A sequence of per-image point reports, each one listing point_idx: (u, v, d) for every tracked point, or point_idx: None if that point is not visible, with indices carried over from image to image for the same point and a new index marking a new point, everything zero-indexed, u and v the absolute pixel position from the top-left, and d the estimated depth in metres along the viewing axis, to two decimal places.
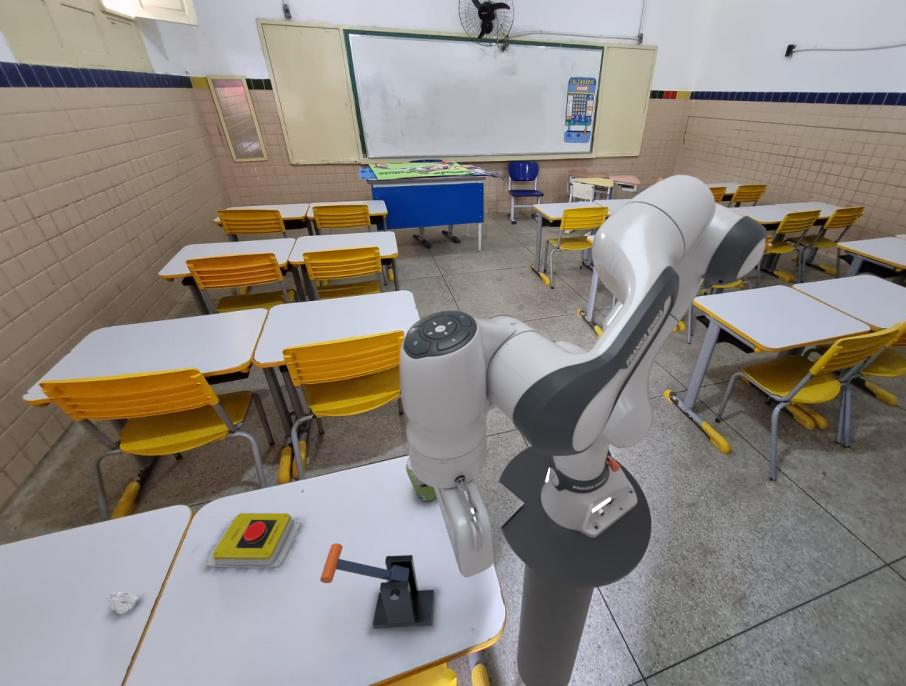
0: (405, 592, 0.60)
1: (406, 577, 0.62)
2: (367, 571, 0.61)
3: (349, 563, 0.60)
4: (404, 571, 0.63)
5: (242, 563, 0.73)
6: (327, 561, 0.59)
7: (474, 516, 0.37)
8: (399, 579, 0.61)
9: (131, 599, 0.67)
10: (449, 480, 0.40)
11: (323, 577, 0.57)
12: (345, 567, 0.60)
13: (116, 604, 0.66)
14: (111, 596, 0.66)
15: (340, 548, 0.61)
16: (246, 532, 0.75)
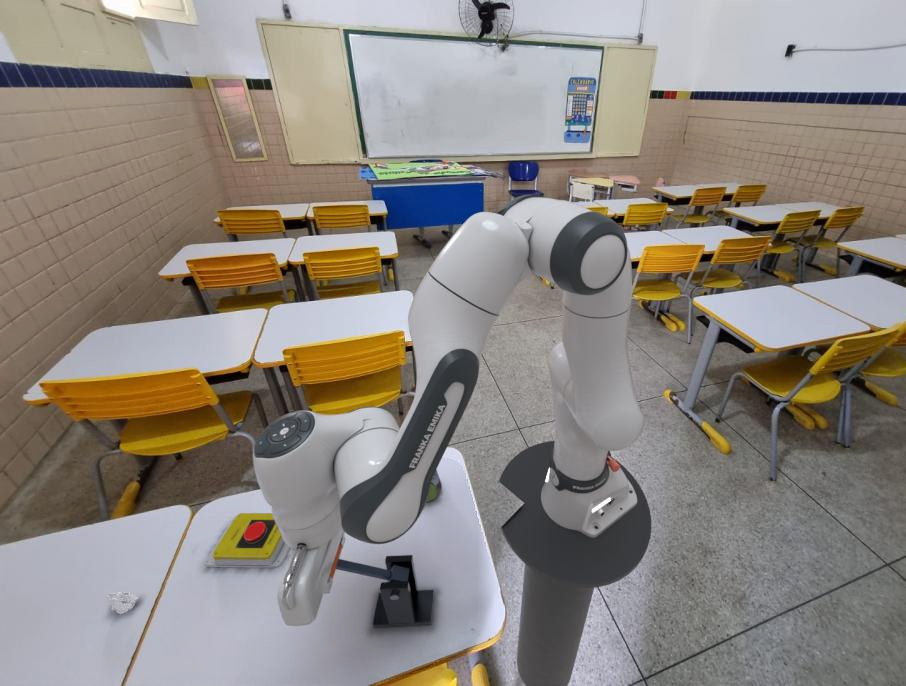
0: (405, 592, 0.60)
1: (406, 577, 0.62)
2: (367, 571, 0.61)
3: (349, 563, 0.60)
4: (404, 571, 0.63)
5: (242, 563, 0.73)
6: None
7: (286, 583, 0.46)
8: (399, 579, 0.61)
9: (131, 599, 0.67)
10: (293, 543, 0.50)
11: None
12: (345, 567, 0.60)
13: (116, 604, 0.66)
14: (111, 596, 0.66)
15: (340, 548, 0.61)
16: (246, 532, 0.75)
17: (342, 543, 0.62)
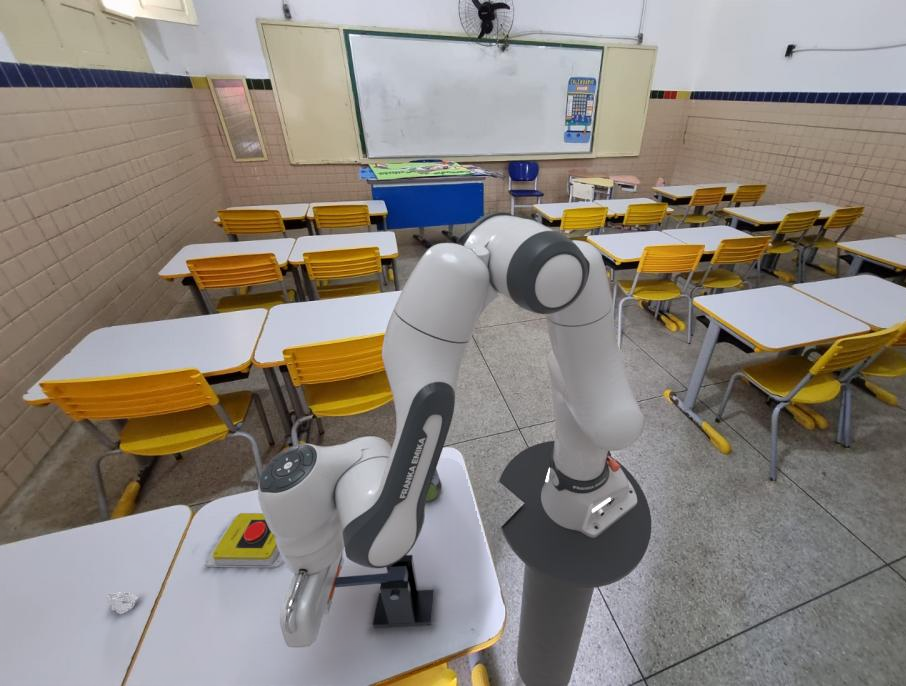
0: (405, 592, 0.60)
1: (402, 575, 0.62)
2: (364, 580, 0.62)
3: (346, 578, 0.62)
4: (400, 570, 0.62)
5: (242, 563, 0.73)
6: None
7: (288, 608, 0.49)
8: (395, 579, 0.61)
9: (132, 599, 0.67)
10: (295, 569, 0.53)
11: None
12: (342, 583, 0.62)
13: (116, 604, 0.66)
14: (111, 596, 0.66)
15: None
16: (246, 532, 0.75)
17: (341, 564, 0.65)
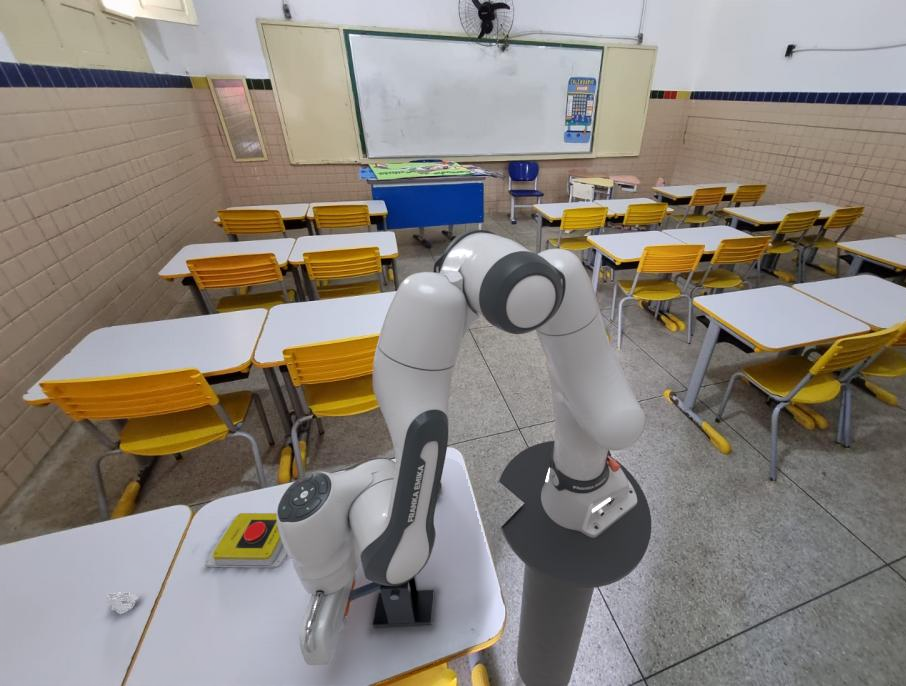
0: (405, 592, 0.60)
1: None
2: (370, 588, 0.63)
3: (356, 590, 0.64)
4: None
5: (242, 563, 0.73)
6: None
7: (307, 629, 0.51)
8: None
9: (132, 599, 0.67)
10: (312, 590, 0.55)
11: None
12: (353, 595, 0.64)
13: (116, 604, 0.66)
14: (111, 596, 0.66)
15: None
16: (246, 532, 0.75)
17: None
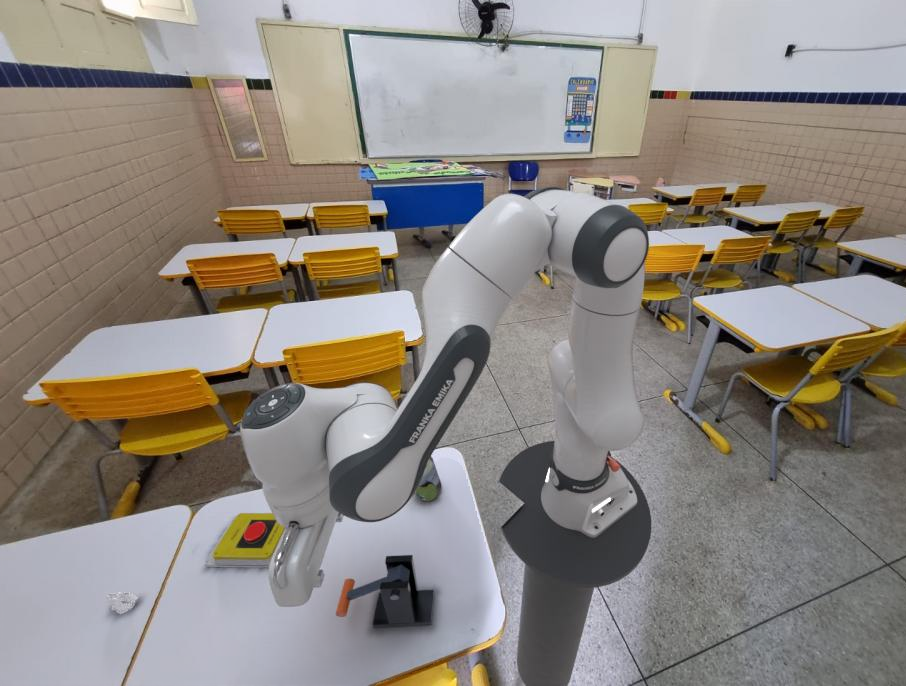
0: (405, 592, 0.60)
1: (398, 574, 0.62)
2: (370, 587, 0.63)
3: (356, 590, 0.64)
4: (396, 570, 0.62)
5: (242, 563, 0.73)
6: (339, 599, 0.65)
7: (277, 561, 0.44)
8: (392, 580, 0.61)
9: (131, 599, 0.67)
10: (285, 522, 0.48)
11: (336, 614, 0.63)
12: (353, 595, 0.64)
13: (116, 604, 0.66)
14: (111, 596, 0.66)
15: (348, 582, 0.66)
16: (246, 532, 0.75)
17: (341, 516, 0.61)
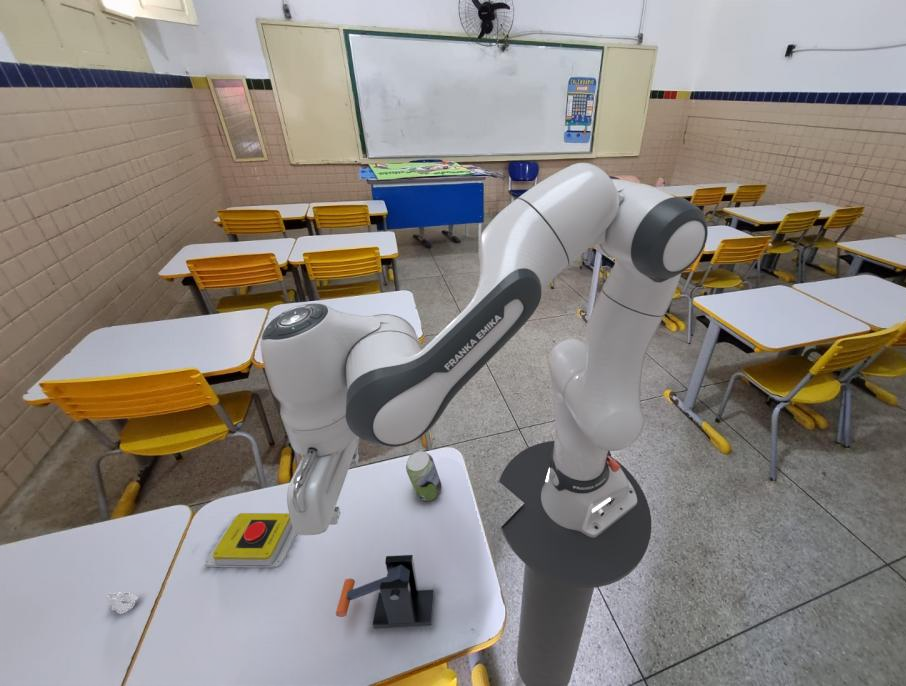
0: (405, 592, 0.60)
1: (398, 574, 0.62)
2: (370, 587, 0.63)
3: (356, 590, 0.64)
4: (396, 570, 0.62)
5: (242, 563, 0.73)
6: (339, 599, 0.65)
7: (296, 482, 0.42)
8: (392, 580, 0.61)
9: (131, 599, 0.67)
10: (303, 448, 0.46)
11: (336, 614, 0.63)
12: (353, 595, 0.64)
13: (116, 604, 0.66)
14: (111, 596, 0.66)
15: (348, 582, 0.66)
16: (246, 532, 0.75)
17: (356, 459, 0.60)
